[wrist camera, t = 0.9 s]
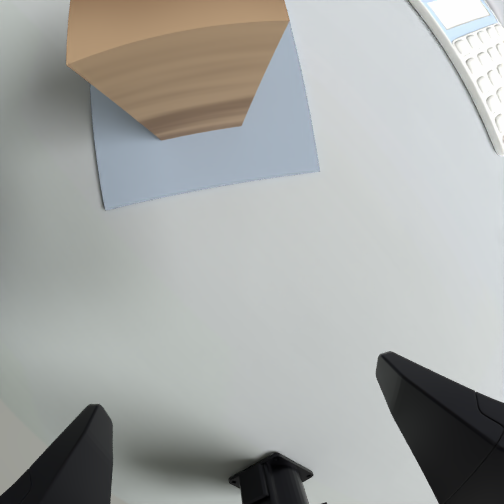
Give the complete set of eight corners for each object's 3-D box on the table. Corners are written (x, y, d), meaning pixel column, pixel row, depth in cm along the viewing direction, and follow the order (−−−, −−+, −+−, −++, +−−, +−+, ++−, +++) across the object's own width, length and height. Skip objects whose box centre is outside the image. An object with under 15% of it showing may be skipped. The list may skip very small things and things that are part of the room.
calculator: (495, 160, 21) (508, 160, 19) (385, -21, 16) (394, -30, 15) (535, 115, 21) (546, 114, 19) (451, -30, 16) (459, -36, 14)
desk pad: (318, 171, 19) (320, 171, 19) (106, 210, 18) (105, 210, 18) (270, -38, 15) (271, -41, 15) (93, -8, 14) (91, -10, 14)
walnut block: (241, 126, 18) (289, 20, 5) (161, 140, 17) (66, 65, 5) (229, 56, 17) (252, -92, 4) (153, 70, 16) (81, -60, 4)
